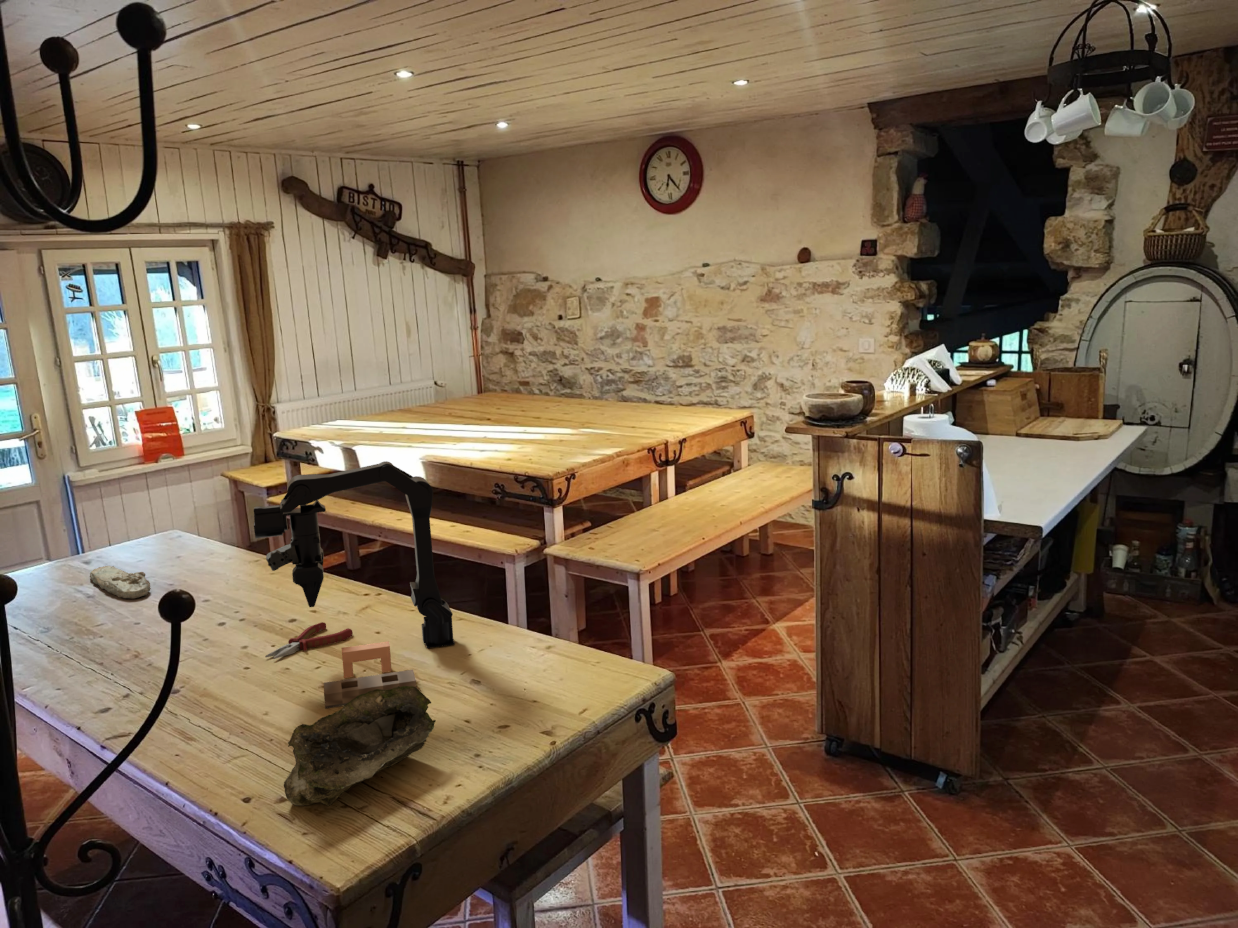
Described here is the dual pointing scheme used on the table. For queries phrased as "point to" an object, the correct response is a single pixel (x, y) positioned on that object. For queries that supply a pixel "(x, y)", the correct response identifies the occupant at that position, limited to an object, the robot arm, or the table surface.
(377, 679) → the rail
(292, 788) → the hollow geode rock
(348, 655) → the clip
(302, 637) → the pliers
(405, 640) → the table surface
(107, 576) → the elongated rock
